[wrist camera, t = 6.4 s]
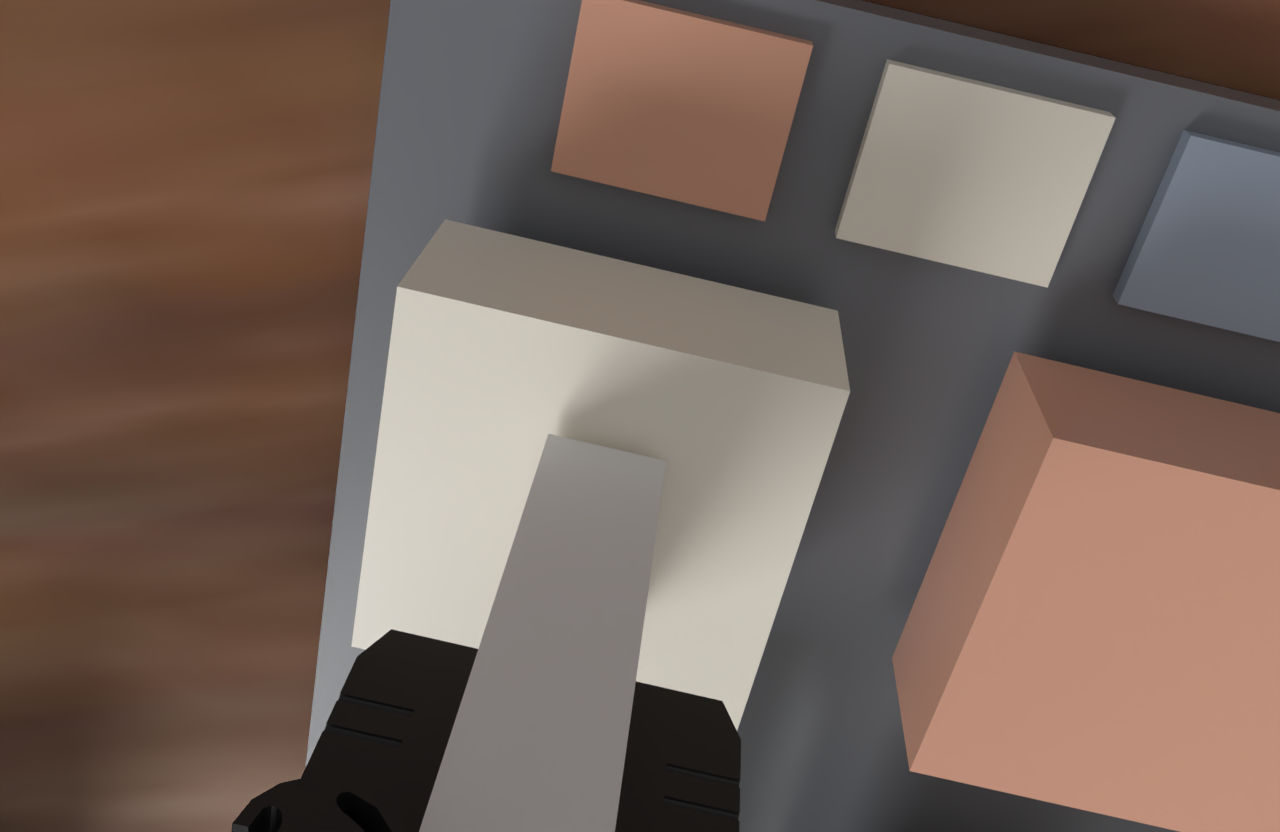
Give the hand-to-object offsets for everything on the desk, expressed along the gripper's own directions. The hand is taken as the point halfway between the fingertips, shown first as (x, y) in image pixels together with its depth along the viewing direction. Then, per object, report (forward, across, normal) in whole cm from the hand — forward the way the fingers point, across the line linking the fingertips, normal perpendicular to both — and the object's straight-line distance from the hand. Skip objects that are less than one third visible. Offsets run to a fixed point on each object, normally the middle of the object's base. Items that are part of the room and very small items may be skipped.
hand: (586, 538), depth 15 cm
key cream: (+3, 0, 0) cm, 3 cm away
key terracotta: (+3, +8, 0) cm, 8 cm away
